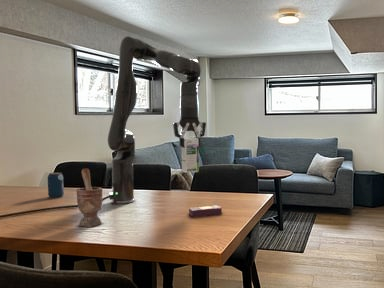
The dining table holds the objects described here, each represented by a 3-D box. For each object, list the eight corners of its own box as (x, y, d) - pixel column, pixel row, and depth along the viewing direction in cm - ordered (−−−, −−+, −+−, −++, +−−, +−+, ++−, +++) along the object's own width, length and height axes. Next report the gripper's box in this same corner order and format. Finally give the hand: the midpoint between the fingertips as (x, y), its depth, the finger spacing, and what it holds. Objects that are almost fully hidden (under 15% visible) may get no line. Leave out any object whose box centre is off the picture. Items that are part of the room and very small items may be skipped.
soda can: (66, 196, 193) (66, 172, 192) (53, 198, 187) (52, 174, 187) (58, 195, 197) (58, 171, 196) (45, 197, 191) (44, 173, 190)
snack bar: (192, 217, 149) (192, 210, 149) (189, 214, 154) (189, 207, 154) (221, 213, 155) (221, 207, 154) (217, 211, 159) (217, 205, 159)
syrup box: (185, 173, 158) (185, 137, 157) (181, 171, 163) (181, 137, 162) (199, 172, 161) (198, 137, 160) (194, 170, 166) (194, 137, 165)
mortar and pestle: (68, 223, 140) (66, 169, 139) (90, 219, 147) (88, 167, 146) (86, 228, 134) (84, 171, 133) (108, 223, 141) (106, 169, 140)
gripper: (203, 107, 167) (203, 146, 168) (169, 106, 161) (170, 147, 162) (208, 106, 160) (209, 147, 161) (174, 106, 154) (175, 148, 155)
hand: (189, 146), depth 161 cm, fingers closed on syrup box, 5 cm apart
